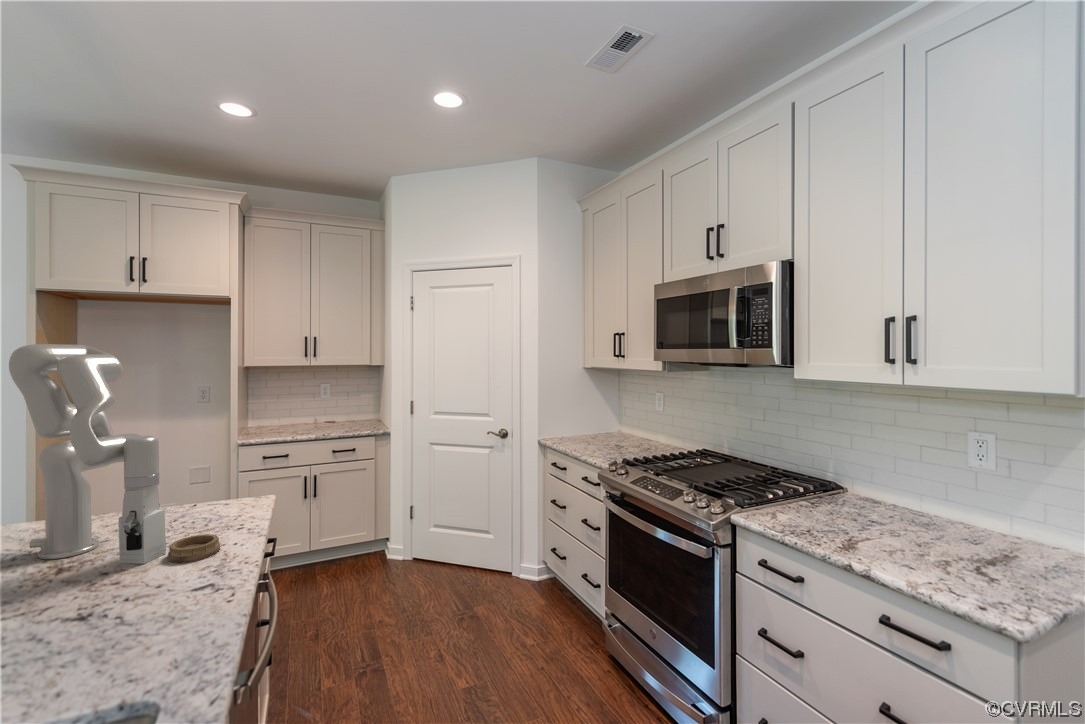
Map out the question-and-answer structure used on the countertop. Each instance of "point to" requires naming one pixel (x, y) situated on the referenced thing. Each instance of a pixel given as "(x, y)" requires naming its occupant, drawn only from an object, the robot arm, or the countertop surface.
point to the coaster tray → (193, 558)
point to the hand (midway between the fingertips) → (143, 542)
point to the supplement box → (145, 539)
